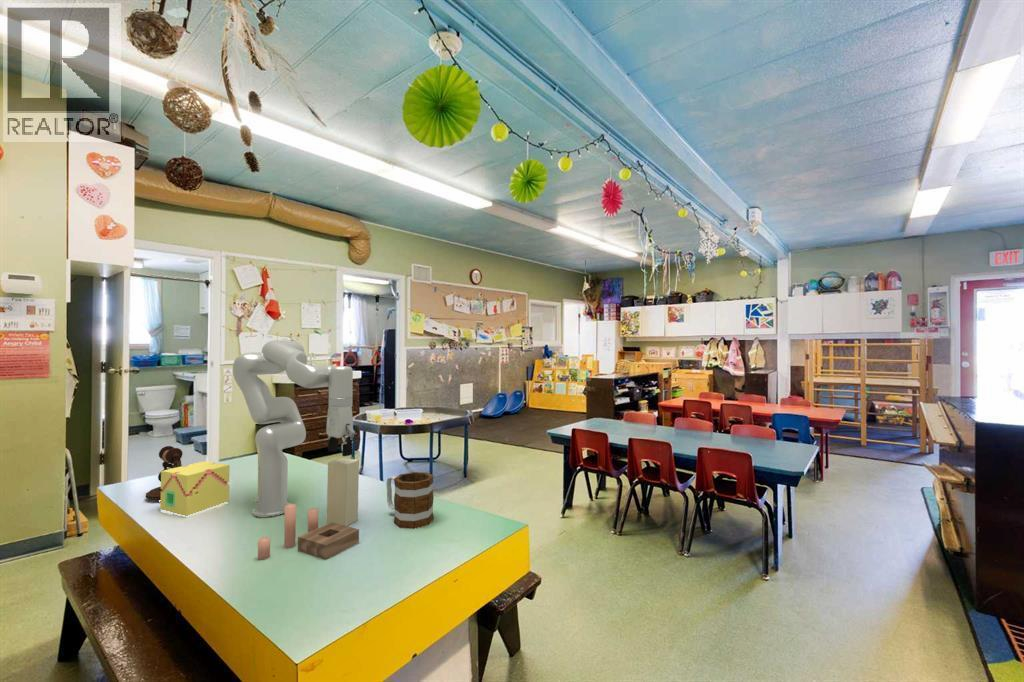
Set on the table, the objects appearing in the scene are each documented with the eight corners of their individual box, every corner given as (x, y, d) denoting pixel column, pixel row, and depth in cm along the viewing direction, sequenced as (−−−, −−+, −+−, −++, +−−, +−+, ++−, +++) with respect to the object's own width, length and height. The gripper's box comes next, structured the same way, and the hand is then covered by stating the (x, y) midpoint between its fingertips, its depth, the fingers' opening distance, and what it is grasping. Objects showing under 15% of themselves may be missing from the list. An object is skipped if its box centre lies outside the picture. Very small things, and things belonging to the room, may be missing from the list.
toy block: (160, 512, 154) (161, 471, 154) (203, 499, 168) (204, 461, 168) (186, 518, 148) (187, 475, 149) (228, 504, 162) (229, 465, 163)
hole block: (297, 550, 124) (297, 536, 124) (331, 534, 135) (331, 522, 135) (325, 559, 119) (326, 545, 119) (358, 542, 129) (359, 529, 130)
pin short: (255, 558, 120) (255, 540, 120) (265, 553, 122) (266, 536, 122) (262, 560, 118) (262, 542, 118) (272, 556, 121) (272, 538, 121)
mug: (441, 518, 149) (441, 475, 149) (414, 532, 137) (414, 485, 137) (401, 507, 158) (401, 467, 159) (372, 520, 147) (373, 476, 147)
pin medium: (305, 536, 134) (305, 510, 134) (313, 532, 136) (314, 507, 137) (312, 538, 132) (312, 512, 133) (320, 534, 135) (320, 509, 135)
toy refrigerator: (360, 519, 147) (360, 459, 148) (345, 527, 140) (345, 464, 141) (341, 516, 150) (342, 457, 150) (326, 524, 143) (326, 462, 144)
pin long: (281, 546, 127) (282, 506, 127) (291, 542, 129) (291, 503, 130) (288, 548, 125) (289, 508, 126) (297, 544, 128) (298, 504, 128)
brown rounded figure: (198, 494, 172) (199, 445, 173) (153, 506, 160) (155, 453, 161) (183, 488, 180) (184, 441, 181) (139, 498, 168) (140, 448, 168)
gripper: (318, 401, 146) (317, 451, 145) (342, 405, 134) (341, 459, 134) (338, 399, 151) (338, 447, 151) (364, 403, 140) (363, 455, 140)
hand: (340, 453), depth 142 cm, fingers open, 9 cm apart
